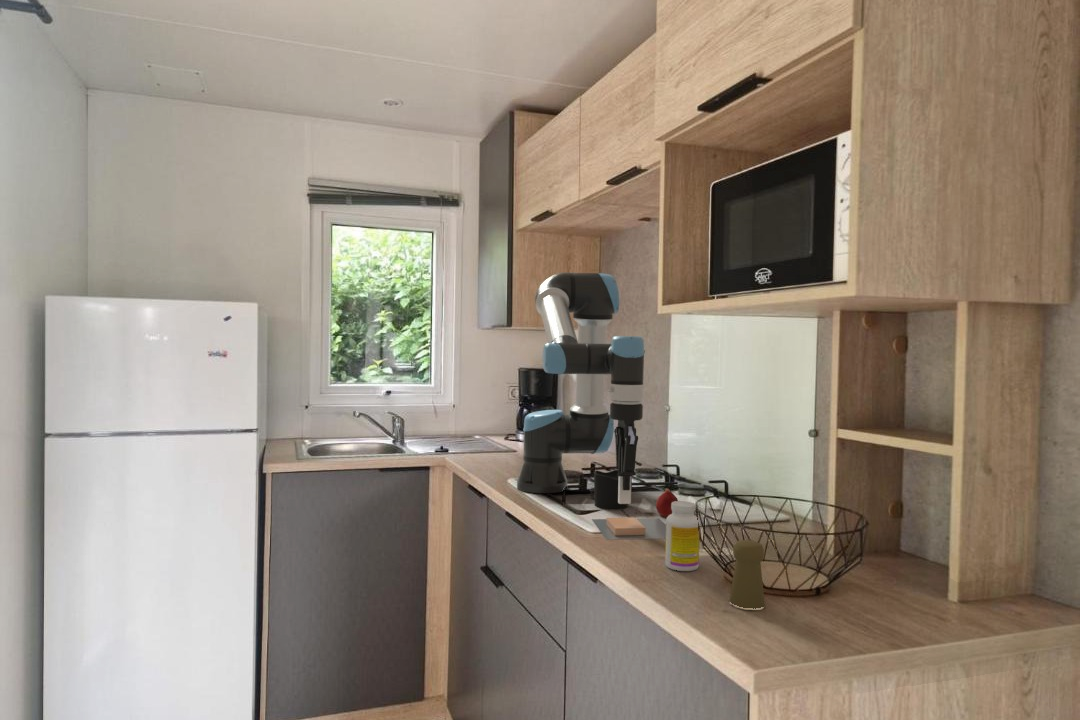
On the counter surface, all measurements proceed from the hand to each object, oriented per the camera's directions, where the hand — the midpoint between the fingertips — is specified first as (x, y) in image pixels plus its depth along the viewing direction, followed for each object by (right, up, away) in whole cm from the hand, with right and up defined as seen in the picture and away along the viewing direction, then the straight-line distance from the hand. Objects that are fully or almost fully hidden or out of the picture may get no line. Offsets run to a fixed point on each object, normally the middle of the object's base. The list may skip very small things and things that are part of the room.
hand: (624, 502), depth 163 cm
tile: (-1, -5, +3) cm, 6 cm away
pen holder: (-1, -7, +22) cm, 23 cm away
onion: (+12, -7, +13) cm, 19 cm away
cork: (+16, -9, -42) cm, 46 cm away
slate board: (+2, -7, +1) cm, 8 cm away
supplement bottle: (+9, -8, -23) cm, 26 cm away
